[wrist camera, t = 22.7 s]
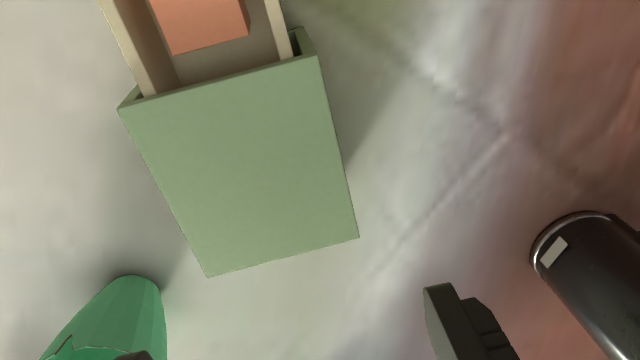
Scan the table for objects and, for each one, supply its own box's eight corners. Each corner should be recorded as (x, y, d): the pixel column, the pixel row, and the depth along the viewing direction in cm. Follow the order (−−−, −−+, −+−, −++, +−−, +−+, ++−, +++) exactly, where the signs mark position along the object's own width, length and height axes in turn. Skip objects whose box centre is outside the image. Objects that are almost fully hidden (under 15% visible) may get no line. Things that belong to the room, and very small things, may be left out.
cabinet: (151, 67, 29) (115, 108, 22) (303, 26, 29) (317, 54, 22) (217, 211, 37) (207, 278, 29) (340, 178, 36) (360, 238, 29)
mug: (109, 239, 37) (63, 329, 28) (203, 282, 41) (188, 372, 32) (42, 331, 41) (-15, 432, 33) (132, 361, 45) (103, 458, 37)
